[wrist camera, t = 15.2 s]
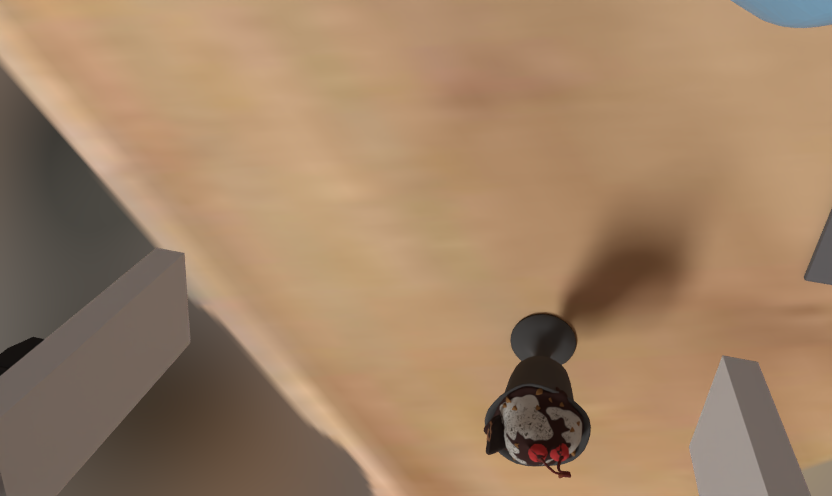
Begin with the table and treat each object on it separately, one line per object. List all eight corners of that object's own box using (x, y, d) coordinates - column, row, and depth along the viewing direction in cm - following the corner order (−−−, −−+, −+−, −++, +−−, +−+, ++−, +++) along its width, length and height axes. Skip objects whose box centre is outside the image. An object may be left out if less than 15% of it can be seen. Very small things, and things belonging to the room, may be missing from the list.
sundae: (606, 334, 52) (616, 480, 39) (553, 390, 55) (546, 543, 42) (532, 287, 51) (518, 419, 38) (483, 347, 55) (454, 488, 41)
